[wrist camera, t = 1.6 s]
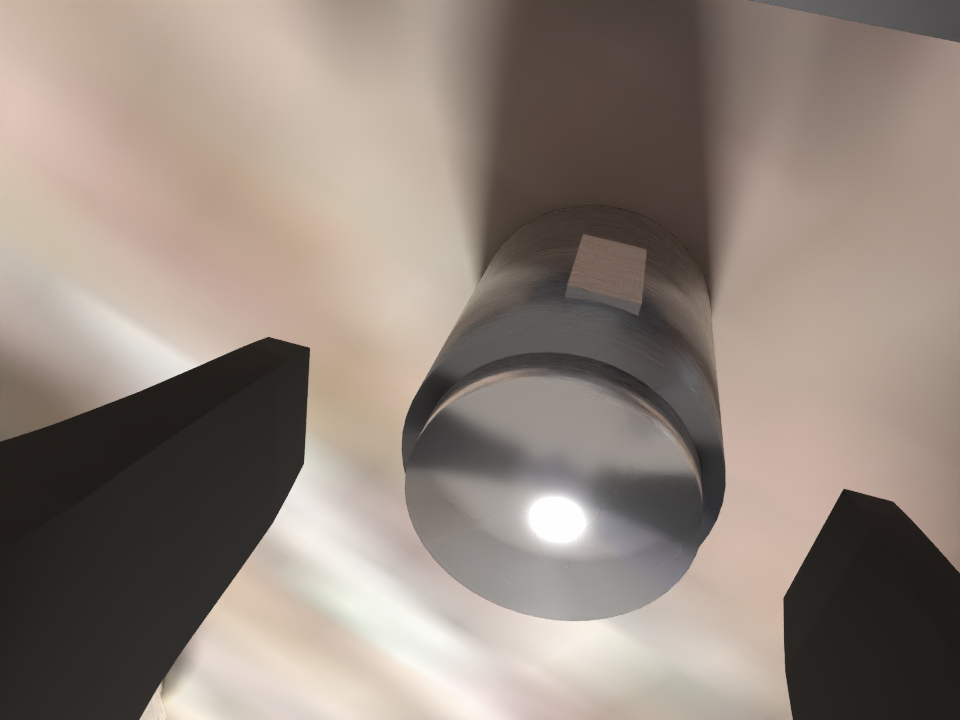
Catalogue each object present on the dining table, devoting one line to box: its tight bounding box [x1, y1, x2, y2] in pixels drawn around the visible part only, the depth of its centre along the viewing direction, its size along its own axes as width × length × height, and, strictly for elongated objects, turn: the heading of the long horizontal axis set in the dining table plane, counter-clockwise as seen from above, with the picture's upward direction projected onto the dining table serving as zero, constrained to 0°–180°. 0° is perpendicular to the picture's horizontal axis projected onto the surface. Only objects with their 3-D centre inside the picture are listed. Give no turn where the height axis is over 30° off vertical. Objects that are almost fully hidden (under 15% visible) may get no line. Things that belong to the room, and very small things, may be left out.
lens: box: [402, 205, 725, 621], centre depth 12 cm, size 4×4×6 cm
